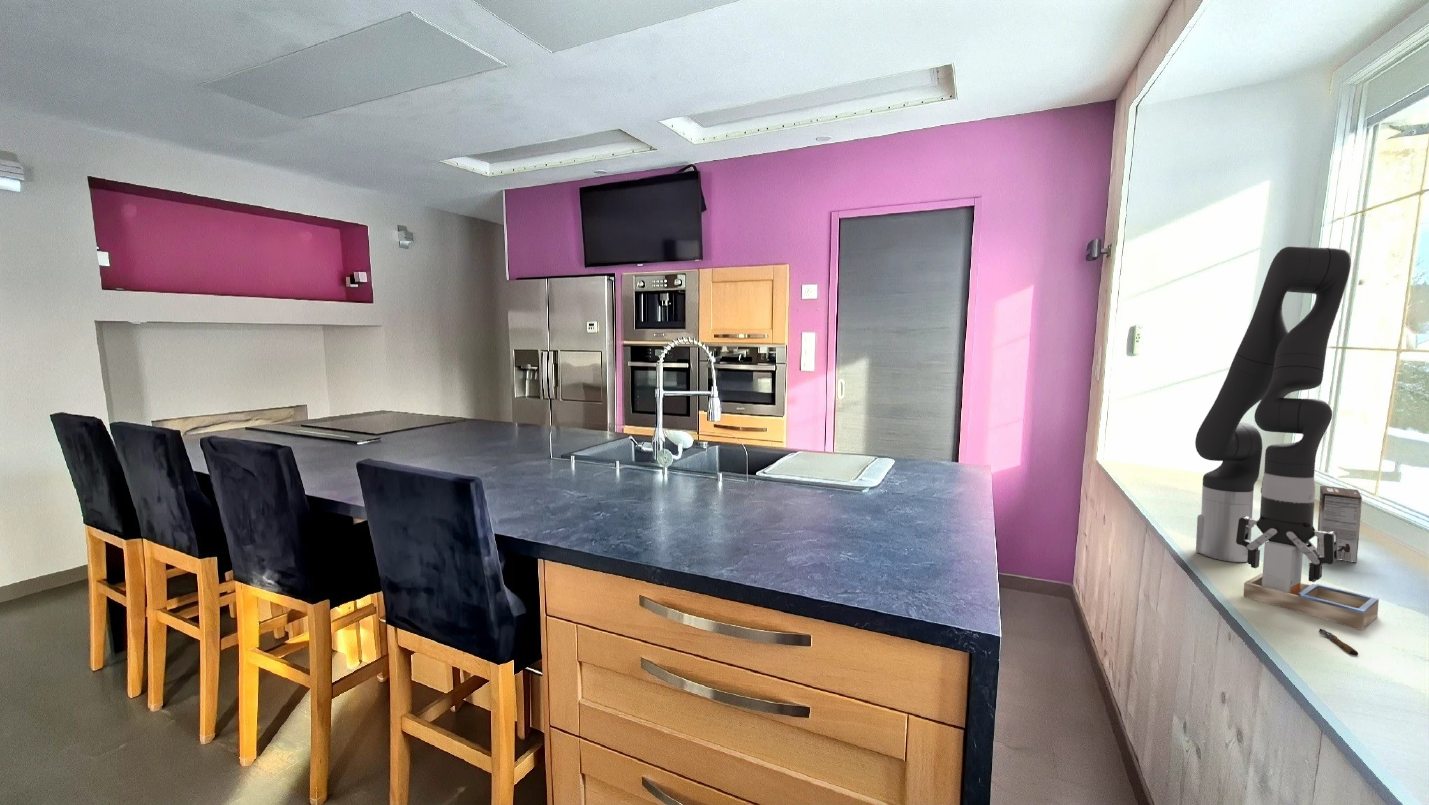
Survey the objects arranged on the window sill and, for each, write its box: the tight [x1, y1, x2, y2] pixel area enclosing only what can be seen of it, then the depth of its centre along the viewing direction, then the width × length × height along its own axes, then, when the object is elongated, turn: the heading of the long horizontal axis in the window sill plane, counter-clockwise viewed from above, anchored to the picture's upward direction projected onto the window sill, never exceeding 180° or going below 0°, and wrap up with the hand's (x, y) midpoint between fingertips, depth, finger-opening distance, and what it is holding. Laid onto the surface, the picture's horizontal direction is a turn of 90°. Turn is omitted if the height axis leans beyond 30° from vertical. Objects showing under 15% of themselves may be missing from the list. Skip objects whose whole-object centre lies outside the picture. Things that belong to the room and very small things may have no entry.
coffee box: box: [1316, 485, 1363, 562], centre depth 134 cm, size 9×6×16 cm
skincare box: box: [1262, 540, 1304, 595], centre depth 113 cm, size 6×4×12 cm
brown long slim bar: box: [1319, 628, 1359, 656], centre depth 97 cm, size 9×2×1 cm, turn 153°
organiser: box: [1243, 572, 1380, 631], centre depth 110 cm, size 16×10×4 cm, turn 29°
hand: (1282, 573), depth 113 cm, fingers open, 8 cm apart
